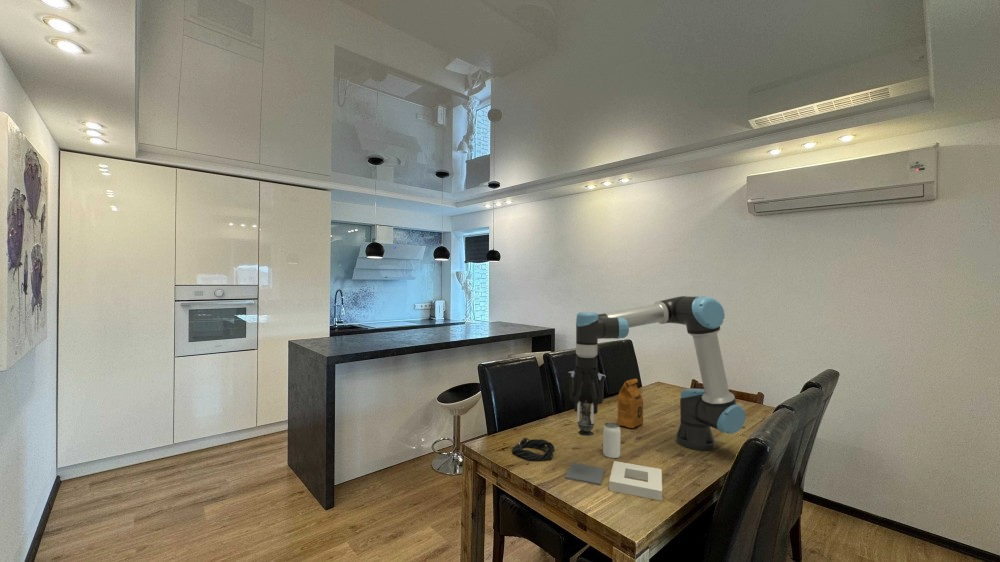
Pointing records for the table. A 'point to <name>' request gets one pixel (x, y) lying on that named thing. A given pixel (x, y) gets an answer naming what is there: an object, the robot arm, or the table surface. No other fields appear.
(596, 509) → the table surface
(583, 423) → the grey statuette
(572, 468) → the rubber mat
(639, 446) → the table surface
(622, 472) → the white square tray
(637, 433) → the table surface
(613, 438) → the can
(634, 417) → the coffee package
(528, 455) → the cable
